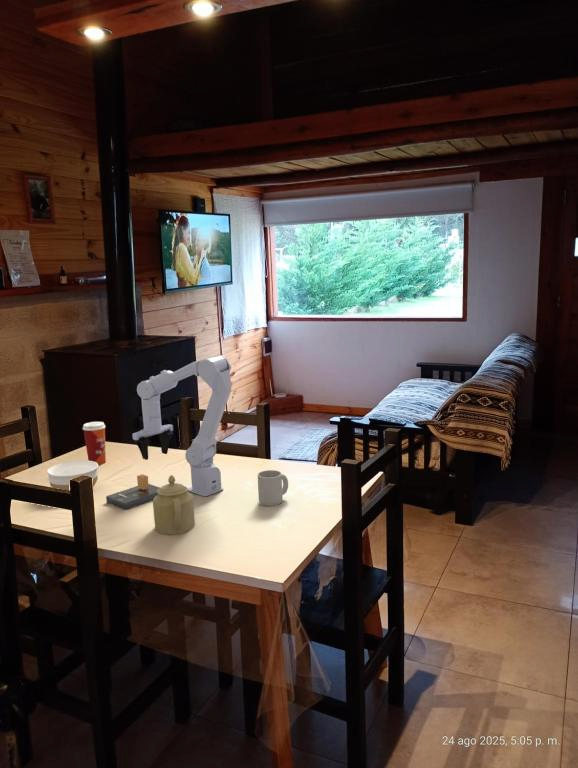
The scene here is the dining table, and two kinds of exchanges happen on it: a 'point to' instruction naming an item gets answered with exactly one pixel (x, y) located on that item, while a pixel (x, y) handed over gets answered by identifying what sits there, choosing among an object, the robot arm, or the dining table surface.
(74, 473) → the bowl
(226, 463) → the dining table surface
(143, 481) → the fader
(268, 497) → the cup
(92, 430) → the coffee cup
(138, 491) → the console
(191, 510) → the sugar bowl
